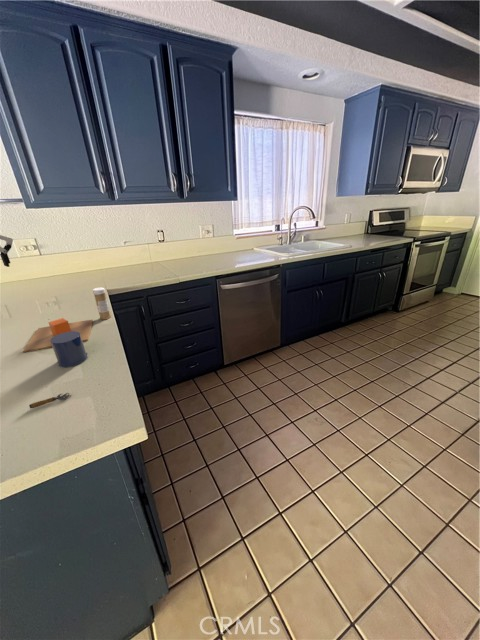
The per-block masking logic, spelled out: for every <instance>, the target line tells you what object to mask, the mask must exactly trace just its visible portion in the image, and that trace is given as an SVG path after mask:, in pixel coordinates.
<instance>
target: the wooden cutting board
mask: <svg viewBox="0 0 480 640" xmlns="http://www.w3.org/2000/svg"><path fill="white" fill-rule="evenodd" d="M68 323H69V326H70V329H71V331H77V332H79V333H80V335H81V338H82V341H83V342H88V341H89V339H90V335H91V330H92V326H93V323H94V319H87V320H80V321H74V322H68ZM54 336H55V335H53V334H52V331H51V329H50V326H49V325H48V326H43V327H42V326H41V327H38V328H37V329H36V331H35V332H34V334H33V336H31V338H30V339H29V341H28V342H27V344H26V346H25V347H24V349H22V353H28V352H33V351H39V350H45V349H50V348H51V349H52V348H53V347H52V344H51V342H50V340H51V338H53V337H54Z"/></svg>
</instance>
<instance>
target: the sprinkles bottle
mask: <svg viewBox="0 0 480 640" xmlns="http://www.w3.org/2000/svg"><path fill="white" fill-rule="evenodd" d="M92 294H93V296H94V299H95V303H96V307H97V311H98V315H99V319H100V320H108V319H110V318H111V317H112V315H111V312H110V306H109V303H108V298H107V296H106V289H105V288H104V287H95V288H93V289H92Z"/></svg>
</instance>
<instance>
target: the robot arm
mask: <svg viewBox="0 0 480 640" xmlns="http://www.w3.org/2000/svg"><path fill="white" fill-rule="evenodd" d="M0 240H2V241H5V245H4V246H3V247H2V246H0V258H1V261H2V264H3V266H4V267H7V268H8V267H11V266H10V264H11V261H10V257H9V255H8V254H9V252H10V250H11V249H12V245H13V243H14V238H11V237H8V236H4V235H1V234H0Z"/></svg>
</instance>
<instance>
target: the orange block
mask: <svg viewBox="0 0 480 640" xmlns="http://www.w3.org/2000/svg"><path fill="white" fill-rule="evenodd" d="M47 323H48V327H49V326H50V329H51V331H52V334H53V335H55V336H56V335H58V334H61V333H64V332H70V331H71V329H70V326H69V323H70V322H69V320H67V319H65V318H63V317H61V318H58V319H55V320H51V321H49V322H47Z"/></svg>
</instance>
